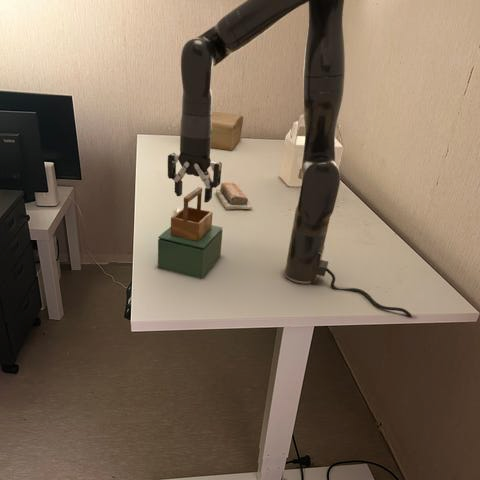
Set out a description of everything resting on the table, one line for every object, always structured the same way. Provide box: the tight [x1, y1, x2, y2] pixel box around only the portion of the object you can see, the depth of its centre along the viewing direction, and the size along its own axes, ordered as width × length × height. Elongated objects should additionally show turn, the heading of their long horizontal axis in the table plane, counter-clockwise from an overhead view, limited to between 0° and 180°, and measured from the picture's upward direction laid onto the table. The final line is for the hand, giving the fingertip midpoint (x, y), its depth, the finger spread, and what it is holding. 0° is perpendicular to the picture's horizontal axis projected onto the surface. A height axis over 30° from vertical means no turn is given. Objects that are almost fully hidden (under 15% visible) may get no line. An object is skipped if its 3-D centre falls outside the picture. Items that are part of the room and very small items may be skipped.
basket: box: [170, 186, 214, 242], centre depth 124 cm, size 10×8×11 cm
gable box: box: [279, 113, 344, 188], centre depth 199 cm, size 22×13×28 cm, turn 103°
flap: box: [206, 224, 223, 238], centre depth 130 cm, size 7×13×1 cm, turn 72°
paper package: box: [210, 110, 244, 151], centre depth 244 cm, size 27×26×14 cm
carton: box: [157, 226, 223, 279], centre depth 130 cm, size 15×13×9 cm
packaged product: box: [215, 182, 253, 211], centre depth 176 cm, size 18×5×10 cm
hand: (193, 198), depth 122 cm, fingers open, 7 cm apart
